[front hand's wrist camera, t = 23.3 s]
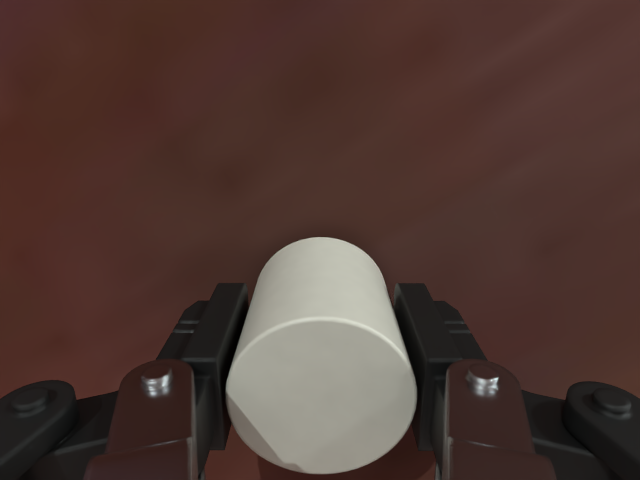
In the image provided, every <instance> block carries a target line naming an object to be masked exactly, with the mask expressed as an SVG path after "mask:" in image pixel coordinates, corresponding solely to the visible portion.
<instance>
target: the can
mask: <svg viewBox="0 0 640 480" xmlns="http://www.w3.org/2000/svg"><path fill="white" fill-rule="evenodd" d="M225 396H226V406H227V411H228V414H229V417H230V420H231V422H232V425H233V426H234V428H235V430H236V432H237V433H238V435H239V436H240V437H241V439H242V440H243V441H244V442H245V443H246V444H247V445H248V446H249V448H250V449H252V450H253V451H254V452H255V453H257V454H258V455H259V456H261V457H262V458H264V459H266V460H267V461H269V462H271V463H273V464H275V465H278V466H280V467H283V468H286V469H289V470H293V471H297V472H302V473H309V474H334V473H340V472H346V471H350V470H354V469H357V468H360V467H362V466H365V465H367V464H369V463H371V462H373V461H375V460H377V459H379V458H380V457H382V456H383V455H385V454H386V453H387V452H389V451H390V450H391V449H392V448H393V447H394V446H395V445H396V444H397V443H398V442H399V441H400V440H401V439H402V437H403V436H404V434H405V433H406V431H407V430H408V428H409V426H410V424H411V422H412V420H413V416H414V413H415V410H416V405H417V384H416V378H415V375H414V372H413V368H412V365H411V362H410V359H409V356H408V353H407V350H406V347H405V344H404V341H403V337H402V334H401V331H400V328H399V325H398V322H397V319H396V316H395V313H394V310H393V306H392V303H391V300H390V297H389V294H388V291H387V288H386V285H385V282H384V279H383V276H382V274H381V272H380V270H379V268H378V266H377V265H376V264H375V262H374V261H373V260H372V259H371V258H370V257H369V256H368V255H367V254H366V253H365V252H364V251H362V250H361V249H359V248H358V247H356V246H354V245H352V244H350V243H348V242H345V241H342V240H339V239H334V238H326V237H316V238H308V239H303V240H300V241H297V242H294V243H292V244H290V245H288V246H286V247H284V248H283V249H281V250H280V251H278V252H277V253H276V254H275V255H274V256H272V257H271V259H270V260H269V261H268V262H267V263H266V265H265V266H264V268H263V269H262V271H261V273H260V276H259V278H258V281H257V284H256V288H255V291H254V294H253V297H252V300H251V304H250V307H249V310H248V313H247V317H246V320H245V323H244V326H243V329H242V333H241V336H240V339H239V342H238V345H237V349H236V352H235V355H234V358H233V362H232V365H231V368H230V371H229V375H228V378H227V382H226V390H225Z"/></svg>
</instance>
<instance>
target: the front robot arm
mask: <svg viewBox="0 0 640 480" xmlns="http://www.w3.org/2000/svg"><path fill="white" fill-rule="evenodd" d="M248 310H249V306H248V291H247V285H246V283H218V285H217V286H216V288H215V290H214V292H213V294H212V296H211V298H210V300H209V301H197V302H196V303H194V304H193V305H192V306H190V307H189V308H187V309H186V310H185V311H184V313H183V314H182V316H181V318H180V319H179V321H178V324H176V326H175V328H174V330H173V333H171V335H170V336H169V338H168V340H167V341H166V343H165V345H164V347H163V348H162V350H161V352H160V353H159V355H158V357H157V358H156V360H154V361H150V362H147V363H145V364H142V365H140V366H138V367H136V368H135V369H133V370H132V371H130V372H129V373H128V374H127V375H126V376H125V377H124V378H123V380H122V381H121V384H120V387H119V390H118V391H115V392H112V393H108V394H103V395H98V396H93V397H89V398H84V399H79V400H76V396H75V391H74V388H73V387H72V386H71V385H70V384H69V383H67V382H64V381H59V380H48V381H41V382H36V383H32V384H29V385H26V386H23V387H21V388H19V389H16V390H14V391H12V392H10V393H9V394H7V395H6V396H4V397H2V398H1V399H0V480H206V475H205V464H206V460H207V457H208V454H209V450H225V446H226V442H227V439H228V435H229V431H230V427H231V423H232V422H231V420H230V417H229V414H228V411H227V406H226V396H225V390H226V382H227V378H228V375H229V371H230V368H231V365H232V362H233V358H234V355H235V352H236V349H237V345H238V342H239V339H240V336H241V333H242V329H243V326H244V323H245V320H246V317H247V313H248ZM393 310H394V313H395V316H396V319H397V322H398V325H399V328H400V331H401V334H402V337H403V341H404V344H405V347H406V350H407V353H408V356H409V359H410V362H411V365H412V368H413V372H414V375H415V378H416V384H417V405H416V410H415V413H414V416H413V420H412V422H411V425H412V428H413V432H414V436H415V440H416V443H417V447H418V451H434V454H435V457H436V466H435V475H434V480H640V399H639V398H638V397H636V396H634V395H633V394H631V393H629V392H627V391H625V390H623V389H620V388H618V387H615V386H612V385H609V384H605V383H600V382H591V381H586V382H578V383H575V384H573V385H572V386H570V388H569V389H568V392H567V395H566V400H562V399H557V398H552V397H547V396H543V395H538V394H534V393H530V392H527V391H524V390H521V387H520V384H519V381H518V380H517V378H516V377H515V376H514V375H513V374H512V373H511V372H510V371H508V370H507V369H505V368H504V367H502V366H500V365H498V364H495V363H493V362H490V361H488V360H487V359H486V357H485V355H484V354H483V352H482V350H481V349H480V347H479V345H478V344H477V342H476V340H475V339H474V337H473V335H472V334H471V333H470V330H469V329H468V327H467V325H466V324H464V320H463V319H462V317H461V315H460V314H459V312H458V310H456V309H455V308H453V307H452V306H450V305H449V304H448V303H446V302H445V301H433V299H432V298H431V296H430V294H429V292H428V290H427V288H426V286H425V284H424V283H397V284H396V286H395V294H394V309H393Z"/></svg>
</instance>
